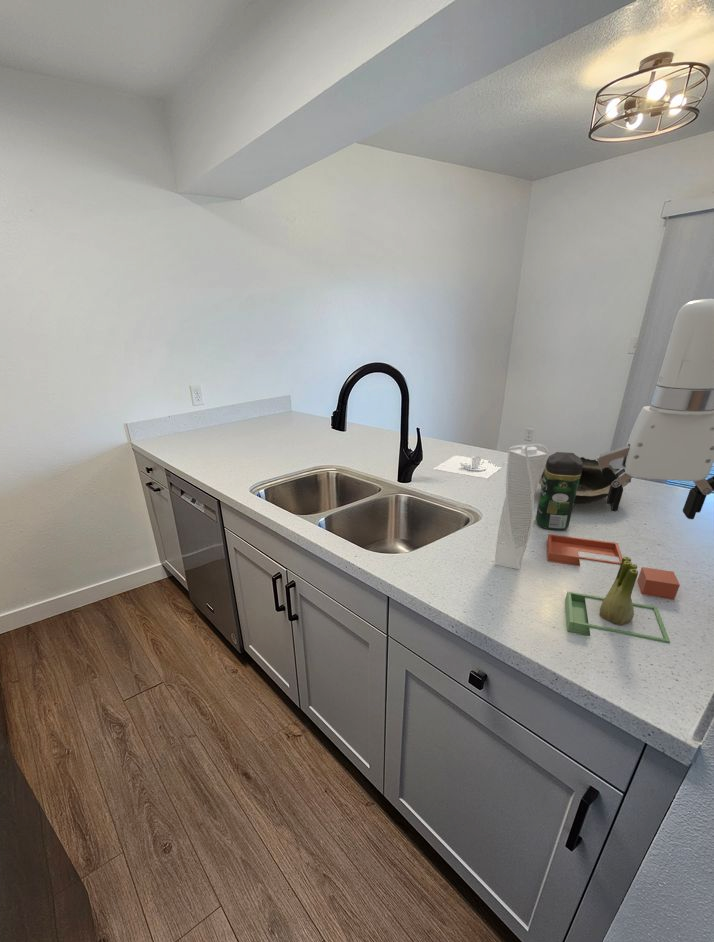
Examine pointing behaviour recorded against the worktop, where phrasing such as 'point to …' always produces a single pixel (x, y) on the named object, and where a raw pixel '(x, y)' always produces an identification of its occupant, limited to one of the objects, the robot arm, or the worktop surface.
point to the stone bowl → (591, 482)
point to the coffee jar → (558, 490)
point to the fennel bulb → (620, 595)
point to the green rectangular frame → (579, 624)
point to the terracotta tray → (579, 549)
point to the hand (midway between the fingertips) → (649, 511)
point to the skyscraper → (519, 503)
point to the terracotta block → (658, 583)
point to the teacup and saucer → (468, 466)
